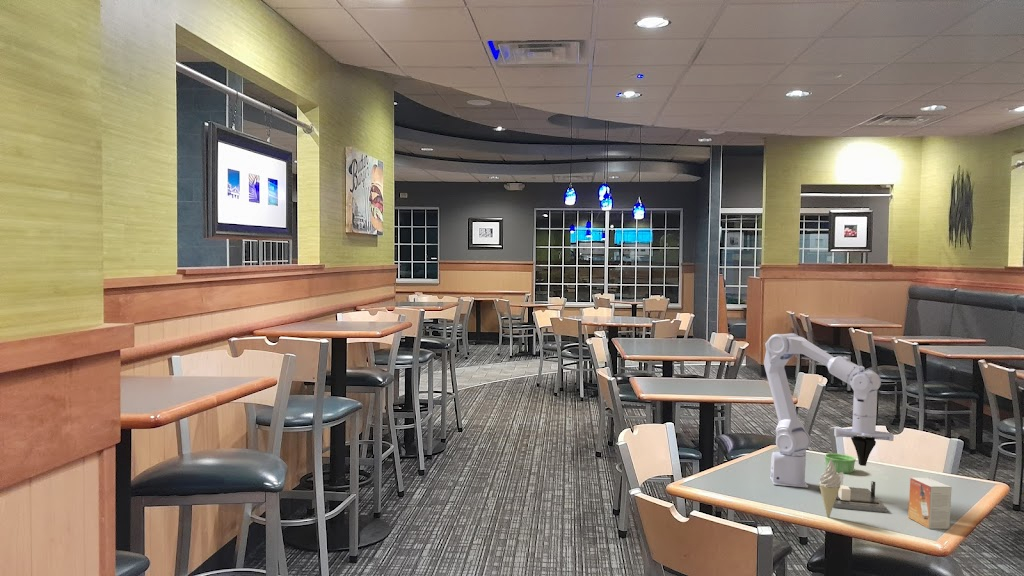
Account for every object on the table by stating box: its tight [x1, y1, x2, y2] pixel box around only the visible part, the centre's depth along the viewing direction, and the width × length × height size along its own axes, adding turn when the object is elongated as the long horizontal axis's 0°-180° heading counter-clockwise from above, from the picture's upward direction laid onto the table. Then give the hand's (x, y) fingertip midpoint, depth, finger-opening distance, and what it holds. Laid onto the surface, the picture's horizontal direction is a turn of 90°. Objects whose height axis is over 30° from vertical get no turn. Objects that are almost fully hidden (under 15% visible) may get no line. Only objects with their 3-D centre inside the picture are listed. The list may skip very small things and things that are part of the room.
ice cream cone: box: [818, 459, 841, 518], centre depth 181 cm, size 5×5×15 cm
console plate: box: [818, 481, 888, 513], centre depth 196 cm, size 13×18×6 cm
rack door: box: [837, 472, 844, 486], centre depth 203 cm, size 10×1×3 cm, turn 141°
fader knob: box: [838, 484, 851, 501], centre depth 192 cm, size 2×4×3 cm, turn 168°
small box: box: [907, 477, 953, 530], centre depth 179 cm, size 8×6×10 cm
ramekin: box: [824, 453, 857, 474], centre depth 229 cm, size 9×9×4 cm
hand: (862, 464), depth 196 cm, fingers closed
